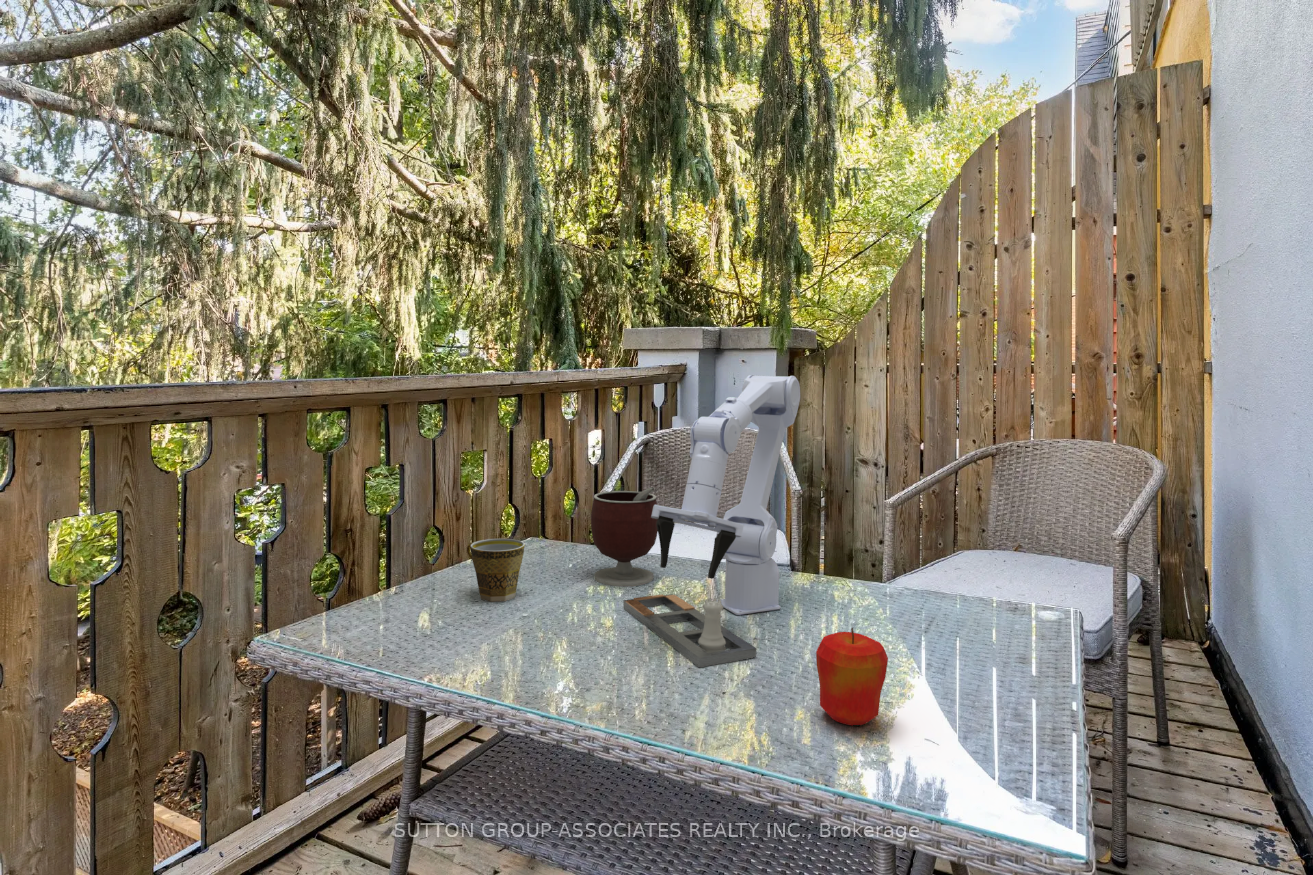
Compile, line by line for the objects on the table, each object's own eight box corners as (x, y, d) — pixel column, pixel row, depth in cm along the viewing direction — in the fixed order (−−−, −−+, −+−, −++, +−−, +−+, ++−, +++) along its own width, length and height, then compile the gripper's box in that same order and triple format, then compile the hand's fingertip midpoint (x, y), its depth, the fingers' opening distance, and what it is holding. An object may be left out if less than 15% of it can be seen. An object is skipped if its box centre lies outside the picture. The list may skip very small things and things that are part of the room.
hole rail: (672, 602, 140) (672, 593, 140) (756, 657, 114) (756, 646, 114) (623, 608, 136) (623, 599, 136) (699, 667, 110) (699, 656, 110)
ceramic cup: (535, 594, 143) (535, 543, 142) (498, 608, 135) (498, 553, 134) (486, 583, 150) (486, 534, 149) (447, 595, 142) (447, 543, 141)
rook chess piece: (717, 658, 114) (719, 607, 113) (692, 652, 116) (693, 601, 115) (731, 649, 117) (732, 599, 117) (705, 643, 120) (707, 594, 119)
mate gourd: (576, 576, 156) (577, 481, 154) (627, 565, 166) (629, 475, 164) (625, 593, 145) (626, 491, 143) (676, 580, 154) (678, 484, 152)
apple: (809, 726, 92) (812, 633, 91) (819, 699, 100) (823, 612, 99) (881, 740, 89) (886, 644, 88) (887, 710, 97) (891, 621, 96)
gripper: (662, 474, 116) (644, 560, 113) (753, 494, 117) (737, 581, 114) (657, 481, 123) (640, 563, 120) (743, 501, 124) (728, 583, 121)
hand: (687, 572), depth 117 cm, fingers open, 7 cm apart
